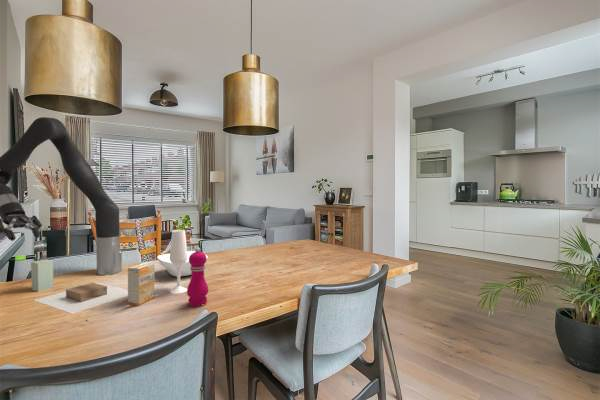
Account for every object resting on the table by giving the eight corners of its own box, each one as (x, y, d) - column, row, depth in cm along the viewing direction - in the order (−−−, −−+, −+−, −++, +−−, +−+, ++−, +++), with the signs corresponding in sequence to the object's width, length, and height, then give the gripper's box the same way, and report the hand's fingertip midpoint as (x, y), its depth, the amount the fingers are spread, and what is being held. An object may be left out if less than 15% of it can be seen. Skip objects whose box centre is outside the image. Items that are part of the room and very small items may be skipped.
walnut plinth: (92, 290, 118) (92, 282, 117) (107, 294, 114) (106, 286, 113) (66, 297, 109) (65, 289, 109) (80, 302, 106) (80, 293, 105)
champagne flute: (167, 293, 118) (167, 232, 117) (172, 288, 124) (171, 229, 123) (185, 293, 119) (185, 231, 118) (189, 287, 125) (189, 229, 124)
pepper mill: (197, 308, 104) (197, 250, 103) (182, 304, 108) (182, 248, 107) (212, 301, 111) (212, 247, 110) (198, 298, 114) (198, 244, 113)
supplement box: (139, 306, 106) (139, 268, 105) (127, 304, 107) (127, 267, 106) (155, 297, 114) (155, 262, 113) (143, 296, 115) (143, 261, 114)
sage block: (46, 286, 125) (46, 259, 124) (53, 288, 122) (52, 260, 122) (31, 289, 120) (31, 261, 120) (38, 291, 118) (37, 263, 117)
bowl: (152, 273, 145) (152, 255, 144) (194, 266, 159) (194, 249, 158) (167, 284, 129) (167, 264, 129) (213, 275, 143) (213, 257, 143)
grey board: (98, 285, 127) (98, 282, 127) (136, 294, 116) (136, 292, 116) (33, 302, 107) (33, 300, 107) (72, 316, 96) (72, 313, 96)
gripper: (-9, 201, 119) (9, 234, 116) (33, 201, 133) (50, 230, 130) (-18, 214, 121) (0, 246, 118) (24, 212, 135) (41, 241, 131)
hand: (26, 238), depth 124 cm, fingers open, 8 cm apart
